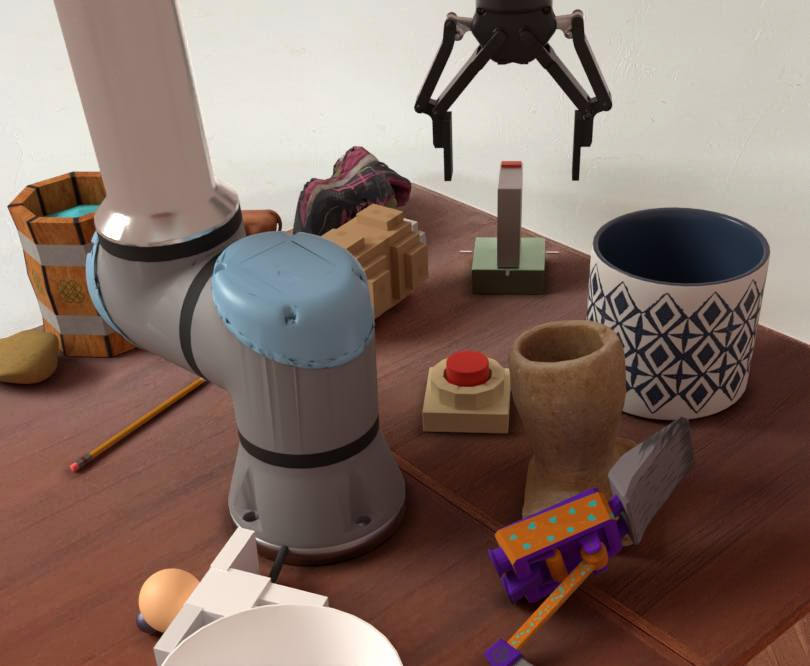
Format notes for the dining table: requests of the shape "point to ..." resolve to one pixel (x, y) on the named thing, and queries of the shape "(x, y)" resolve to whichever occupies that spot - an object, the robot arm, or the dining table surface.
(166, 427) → the dining table surface
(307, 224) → the athletic shoe
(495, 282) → the tap panel
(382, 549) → the dining table surface
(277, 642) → the bowl
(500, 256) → the tap handle
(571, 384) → the stone cup
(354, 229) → the roast turkey
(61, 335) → the mug
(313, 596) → the figurine
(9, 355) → the potato
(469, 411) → the button box
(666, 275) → the planter
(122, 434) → the pencil
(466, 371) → the red button
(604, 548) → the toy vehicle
